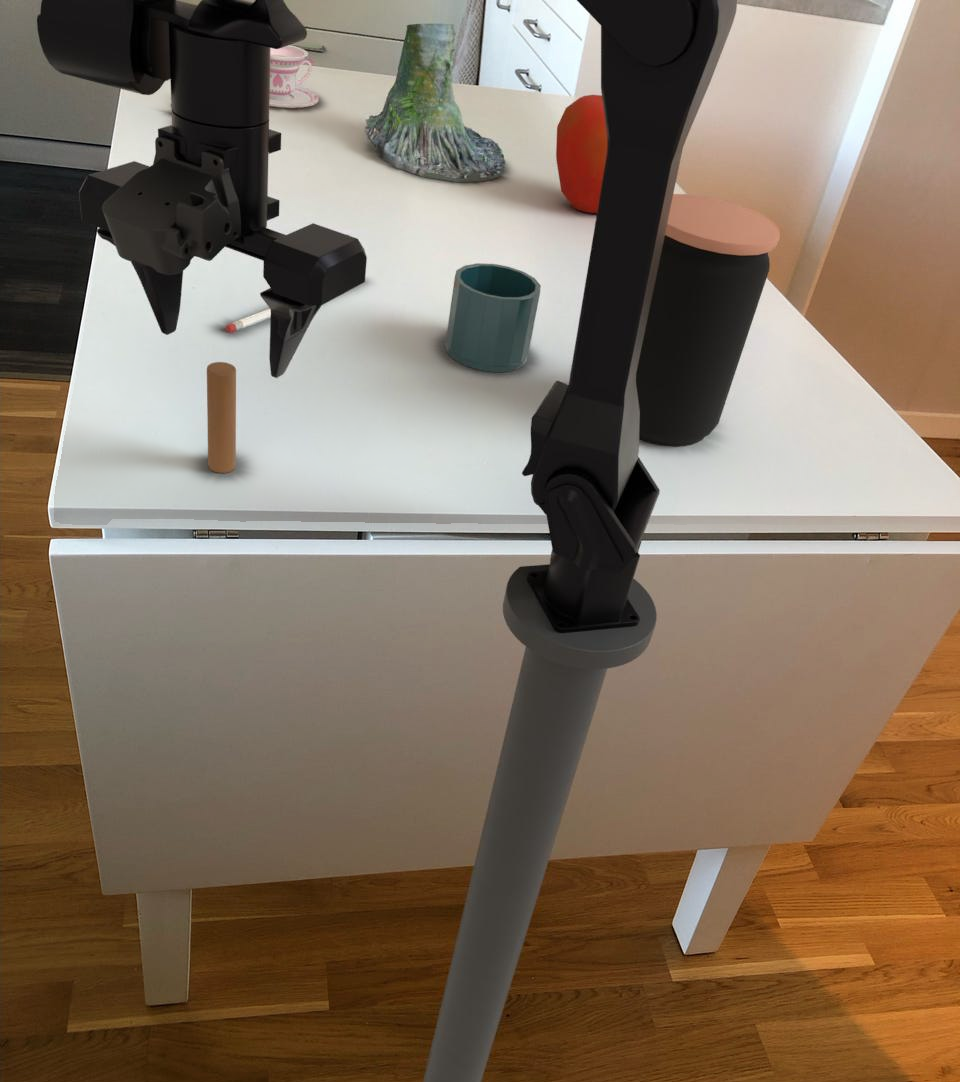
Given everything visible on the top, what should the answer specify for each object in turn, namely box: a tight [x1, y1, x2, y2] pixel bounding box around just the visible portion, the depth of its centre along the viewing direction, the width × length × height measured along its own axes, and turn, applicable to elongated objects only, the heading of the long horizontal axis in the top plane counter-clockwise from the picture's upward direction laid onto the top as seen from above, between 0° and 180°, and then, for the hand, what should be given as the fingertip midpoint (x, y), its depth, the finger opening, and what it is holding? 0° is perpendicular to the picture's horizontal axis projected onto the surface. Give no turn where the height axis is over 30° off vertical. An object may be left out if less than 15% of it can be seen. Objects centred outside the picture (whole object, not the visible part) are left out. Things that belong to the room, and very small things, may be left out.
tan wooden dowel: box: [206, 361, 237, 474], centre depth 78 cm, size 2×2×8 cm
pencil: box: [225, 308, 271, 334], centre depth 103 cm, size 1×19×1 cm, turn 146°
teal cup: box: [445, 262, 542, 373], centre depth 99 cm, size 8×8×7 cm
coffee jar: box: [636, 193, 781, 447], centre depth 91 cm, size 11×11×18 cm
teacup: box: [269, 44, 320, 109], centre depth 153 cm, size 12×12×6 cm
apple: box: [555, 94, 607, 214], centre depth 133 cm, size 12×12×14 cm
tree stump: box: [364, 22, 506, 183], centre depth 141 cm, size 18×20×18 cm
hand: (222, 353), depth 75 cm, fingers open, 9 cm apart
